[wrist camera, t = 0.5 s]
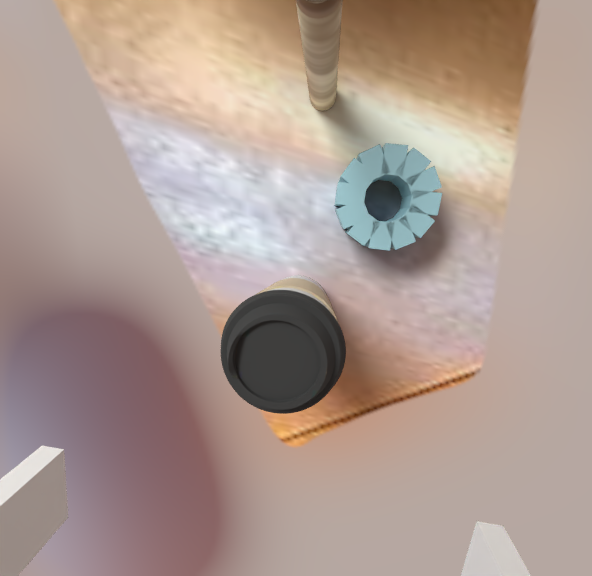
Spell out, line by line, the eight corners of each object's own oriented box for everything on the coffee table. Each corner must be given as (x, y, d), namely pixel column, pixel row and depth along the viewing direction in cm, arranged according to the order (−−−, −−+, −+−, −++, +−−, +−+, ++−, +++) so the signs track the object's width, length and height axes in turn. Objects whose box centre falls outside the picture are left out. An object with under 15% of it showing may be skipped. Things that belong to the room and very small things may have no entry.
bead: (342, 149, 32) (344, 139, 28) (435, 158, 32) (450, 149, 28) (329, 240, 34) (330, 243, 30) (417, 251, 33) (429, 255, 29)
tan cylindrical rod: (311, 80, 31) (295, -60, 16) (338, 83, 31) (348, -57, 15) (308, 109, 32) (289, 2, 16) (334, 112, 32) (340, 5, 16)
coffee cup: (347, 275, 35) (362, 314, 20) (329, 353, 37) (331, 442, 22) (264, 258, 35) (219, 284, 20) (251, 336, 37) (200, 411, 22)
